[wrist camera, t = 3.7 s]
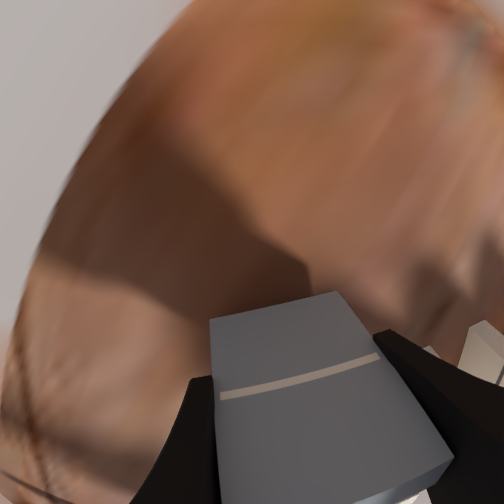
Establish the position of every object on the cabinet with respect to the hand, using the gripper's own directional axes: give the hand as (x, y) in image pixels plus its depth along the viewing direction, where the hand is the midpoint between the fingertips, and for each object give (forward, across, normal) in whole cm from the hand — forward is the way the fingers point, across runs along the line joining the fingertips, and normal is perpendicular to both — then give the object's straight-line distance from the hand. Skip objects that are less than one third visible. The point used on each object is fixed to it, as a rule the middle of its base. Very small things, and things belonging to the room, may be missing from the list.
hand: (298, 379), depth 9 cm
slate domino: (+3, 0, 0) cm, 3 cm away
